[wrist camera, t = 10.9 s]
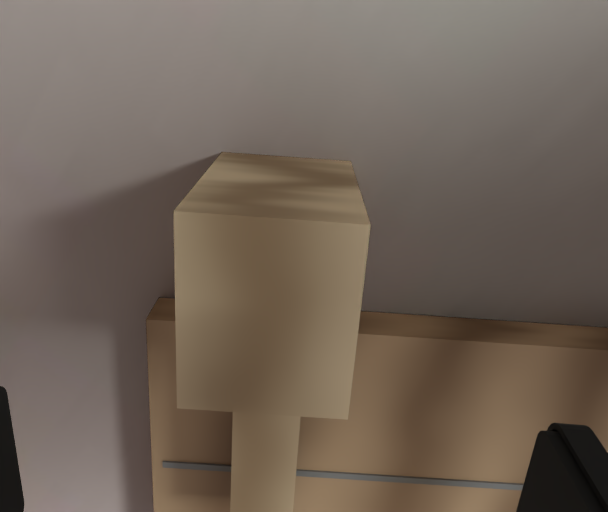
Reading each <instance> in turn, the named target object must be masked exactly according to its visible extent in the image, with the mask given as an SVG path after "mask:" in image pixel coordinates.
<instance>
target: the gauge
mask: <svg viewBox="0 0 608 512" xmlns="http://www.w3.org/2000/svg"><path fill="white" fill-rule="evenodd" d="M173 215H174V271H175V327H176V383H177V408H180V409H195V410H210V411H225V412H233V426H232V464H231V502H230V512H293V505H294V493H295V480H296V468H297V455H298V443H299V431H300V418H301V417H315V418H330V419H345V420H348V414H349V405H350V397H351V388H352V380H353V371H354V363H355V355H356V346H357V338H358V329H359V321H360V312H361V304H362V295H363V287H364V278H365V270H366V262H367V253H368V245H369V236H370V228H371V224H370V221H369V218H368V214H367V211H366V208H365V205H364V202H363V199H362V195H361V192H360V189H359V186H358V183H357V180H356V176H355V173H354V170H353V167H352V164H351V161H341V160H327V159H313V158H298V157H284V156H270V155H256V154H242V153H228V152H222V153H221V154H220V155H219V156H218V158H217V159H216V160H215V161H214V162H213V164H212V165H211V166H210V167H209V169H208V170H207V171H206V172H205V173H204V175H203V176H202V177H201V178H200V179H199V181H198V182H197V183H196V184H195V185H194V187H193V188H192V189H191V190H190V192H189V193H188V194H187V195H186V196H185V198H184V199H183V200H182V201H181V202H180V204H179V205H178V206H177V207H176V209H175V210H174V211H173Z"/></svg>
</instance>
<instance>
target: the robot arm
mask: <svg viewBox="0 0 608 512" xmlns="http://www.w3.org/2000/svg"><path fill="white" fill-rule="evenodd" d="M23 511H24V498H23V491H22V485H21V479H20V472H19V466H18V460H17V453H16V447H15V441H14V434H13V428H12V422H11V415H10V409H9V403H8V396H7V392H6V389H5V388H4V387H1V386H0V512H23ZM516 512H608V453H607V451H606V450H605V448H604V447H603V445H602V444H601V442H600V441H599V439H598V438H597V436H596V435H595V433H594V432H593V431H592V429H591V428H590V427H588V426H586V425H576V424H564V423H552V424H551V425H550V426H549V427H548V429H547V431H544V430H542V431H540V432H539V433H538V435H537V438H536V442H535V445H534V449H533V452H532V456H531V460H530V463H529V467H528V470H527V474H526V478H525V481H524V485H523V488H522V492H521V496H520V499H519V503H518V506H517V510H516Z"/></svg>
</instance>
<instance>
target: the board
mask: <svg viewBox="0 0 608 512" xmlns="http://www.w3.org/2000/svg"><path fill="white" fill-rule="evenodd" d="M146 334H147V359H148V383H149V408H150V433H151V457H152V482H153V507H154V512H230V502H231V464H232V426H233V412H225V411H210V410H195V409H180V408H177V383H176V327H175V299H173V298H158V300H157V302H156V303H155V305H154V307H153V308H152V310H151V312H150V313H149V315H148V317H147V318H146ZM552 423H564V424H576V425H586V426H588V427H590V428H591V429H592V431H593V432H594V433H595V435H596V436H597V438H598V439H599V441H600V442H601V444H602V445H603V447H604V448H605V450H606V451H607V453H608V328H604V327H589V326H574V325H560V324H545V323H530V322H515V321H500V320H485V319H470V318H456V317H441V316H426V315H411V314H396V313H381V312H366V311H361V312H360V321H359V329H358V338H357V346H356V355H355V363H354V371H353V380H352V388H351V397H350V405H349V414H348V420H345V419H330V418H315V417H301V418H300V431H299V443H298V455H297V468H296V480H295V493H294V505H293V512H516V510H517V506H518V503H519V499H520V496H521V492H522V488H523V485H524V481H525V478H526V474H527V470H528V467H529V463H530V460H531V456H532V452H533V449H534V445H535V442H536V438H537V435H538V433H539V432H540V431H542V430H544V431H547V429H548V427H549V426H550V425H551V424H552Z"/></svg>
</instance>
